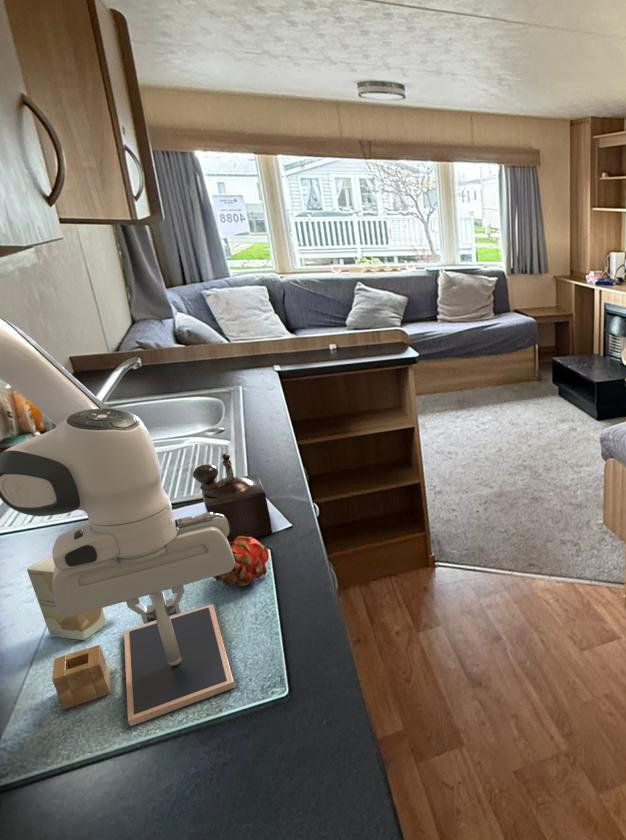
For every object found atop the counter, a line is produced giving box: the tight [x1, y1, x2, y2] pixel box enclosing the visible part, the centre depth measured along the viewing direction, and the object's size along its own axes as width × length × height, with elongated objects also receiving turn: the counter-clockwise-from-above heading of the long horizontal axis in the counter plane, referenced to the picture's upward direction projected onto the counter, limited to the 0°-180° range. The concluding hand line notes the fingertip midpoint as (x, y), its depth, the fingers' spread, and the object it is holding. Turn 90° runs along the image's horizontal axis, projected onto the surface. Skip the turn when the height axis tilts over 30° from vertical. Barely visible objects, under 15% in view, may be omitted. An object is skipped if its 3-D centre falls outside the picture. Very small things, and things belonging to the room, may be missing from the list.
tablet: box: [123, 603, 236, 727], centre depth 94 cm, size 12×22×1 cm, turn 35°
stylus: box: [148, 591, 181, 666], centre depth 90 cm, size 2×2×15 cm
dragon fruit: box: [213, 536, 270, 587], centre depth 113 cm, size 8×8×12 cm
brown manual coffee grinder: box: [192, 452, 273, 542], centre depth 124 cm, size 16×11×18 cm
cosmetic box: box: [26, 554, 108, 641], centre depth 98 cm, size 6×4×12 cm
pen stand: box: [51, 644, 111, 710], centre depth 88 cm, size 5×5×5 cm
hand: (162, 616), depth 91 cm, fingers closed on stylus, 1 cm apart
